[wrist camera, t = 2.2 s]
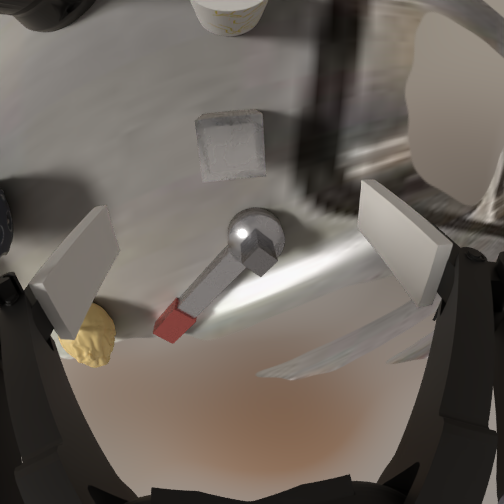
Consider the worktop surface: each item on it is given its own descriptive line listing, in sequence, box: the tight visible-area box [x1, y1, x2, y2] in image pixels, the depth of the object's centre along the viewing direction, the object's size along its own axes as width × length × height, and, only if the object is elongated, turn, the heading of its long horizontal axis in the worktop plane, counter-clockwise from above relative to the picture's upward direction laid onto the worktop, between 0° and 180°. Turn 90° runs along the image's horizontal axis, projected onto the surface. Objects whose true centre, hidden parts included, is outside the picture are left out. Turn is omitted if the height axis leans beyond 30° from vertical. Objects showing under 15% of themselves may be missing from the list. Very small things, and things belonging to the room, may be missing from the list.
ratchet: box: [153, 208, 285, 343], centre depth 43 cm, size 30×8×8 cm, turn 139°
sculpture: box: [58, 303, 116, 368], centre depth 45 cm, size 12×12×11 cm
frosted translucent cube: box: [195, 109, 266, 182], centre depth 31 cm, size 7×7×9 cm
